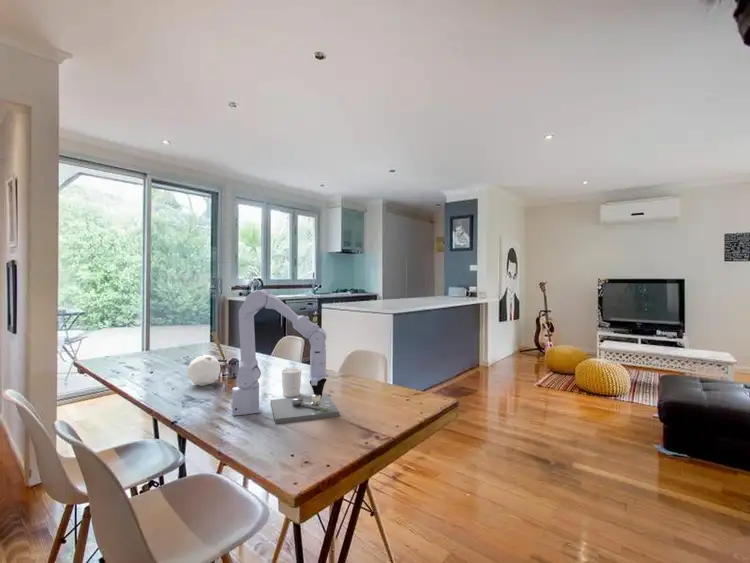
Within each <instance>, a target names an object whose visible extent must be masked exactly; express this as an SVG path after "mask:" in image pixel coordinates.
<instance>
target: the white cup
mask: <svg viewBox="0 0 750 563" xmlns="http://www.w3.org/2000/svg"><path fill="white" fill-rule="evenodd" d="M301 379H302V369H301V368H295V367H294V368H292V367H291V368H284V369H282V370H281V383H282V384H281V385H282V395H283V397H286V398H295V397H299V396H300V394H301V384H302V380H301Z"/></svg>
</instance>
